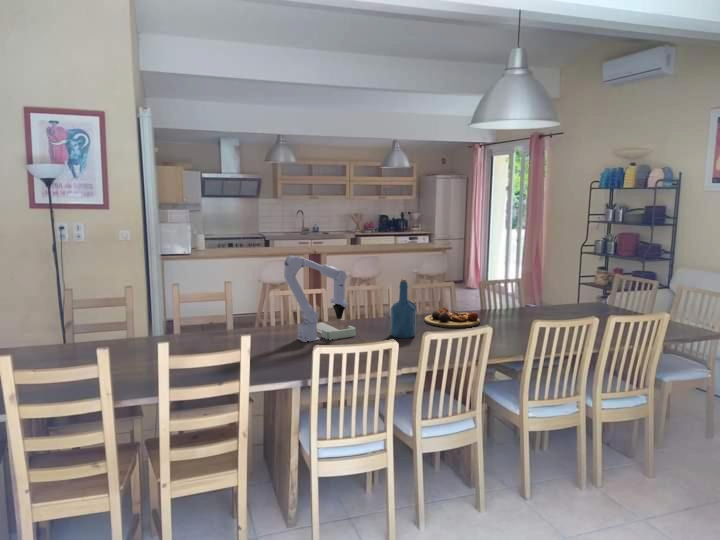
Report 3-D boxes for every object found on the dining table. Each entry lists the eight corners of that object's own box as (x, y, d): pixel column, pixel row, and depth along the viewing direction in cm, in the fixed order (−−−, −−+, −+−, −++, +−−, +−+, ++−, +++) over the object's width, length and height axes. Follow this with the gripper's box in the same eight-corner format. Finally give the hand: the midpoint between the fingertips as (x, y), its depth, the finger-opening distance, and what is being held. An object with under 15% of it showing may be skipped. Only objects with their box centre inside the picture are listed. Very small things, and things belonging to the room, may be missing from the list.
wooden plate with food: (490, 322, 314) (490, 308, 313) (461, 331, 290) (461, 316, 290) (443, 314, 335) (444, 301, 334) (413, 323, 312) (413, 309, 311)
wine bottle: (386, 337, 278) (386, 280, 274) (395, 331, 290) (396, 276, 286) (411, 340, 272) (412, 282, 268) (419, 334, 284) (420, 278, 280)
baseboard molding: (328, 340, 274) (349, 337, 280) (328, 334, 274) (349, 331, 280) (303, 327, 300) (322, 324, 307) (303, 322, 300) (322, 319, 306)
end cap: (328, 340, 272) (328, 332, 271) (321, 337, 278) (321, 329, 277) (357, 335, 281) (357, 328, 280) (350, 332, 287) (350, 325, 286)
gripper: (353, 294, 273) (353, 320, 275) (338, 290, 285) (338, 315, 287) (341, 295, 269) (341, 322, 271) (327, 291, 281) (327, 316, 283)
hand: (339, 318), depth 279 cm, fingers closed
